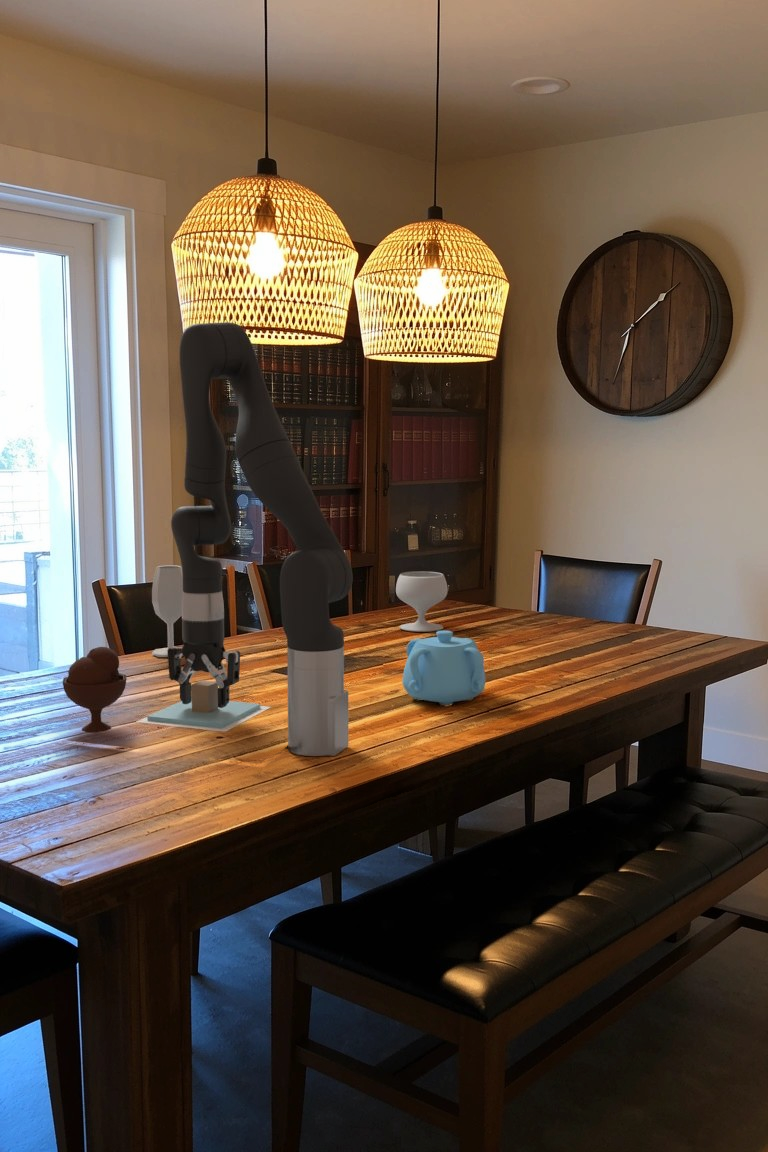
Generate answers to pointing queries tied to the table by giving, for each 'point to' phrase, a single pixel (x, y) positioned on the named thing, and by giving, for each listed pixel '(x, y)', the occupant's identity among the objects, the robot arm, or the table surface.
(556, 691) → the table surface
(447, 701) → the decorative pot
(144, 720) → the mat
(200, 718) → the cover sheet
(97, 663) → the ice cream bowl
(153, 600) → the wineglass
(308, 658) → the robot arm
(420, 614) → the chalice
